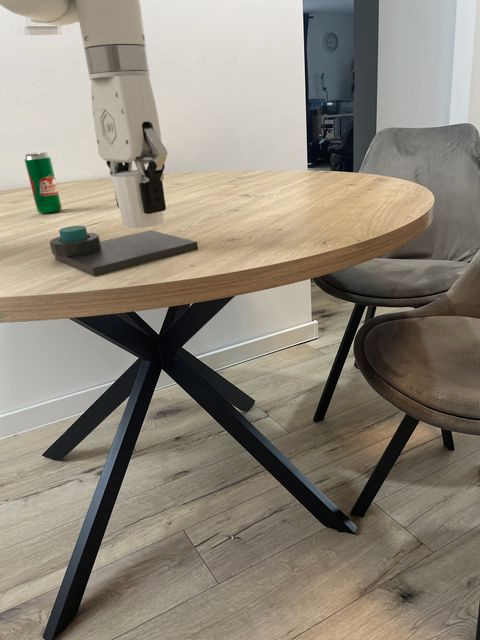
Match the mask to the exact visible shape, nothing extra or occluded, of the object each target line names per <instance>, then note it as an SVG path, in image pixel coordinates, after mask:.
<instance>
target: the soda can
mask: <svg viewBox="0 0 480 640" xmlns="http://www.w3.org/2000/svg"><path fill="white" fill-rule="evenodd" d="M24 155H25V157H24V164H25V168H26V172H27V175H28V180H29V183H30V187H31V191H32V196H33V199H34V204H35V207H36V211H37V212H38V213H39V214H41V215H50V214H56V213H60V212H61V210H62V208H63V206H62V202H61V198H60V194H59V189H58V185H57V180H56V175H55V171H54V167H53V162H52V158H51V156H49V154H48V152H46V151H41V152H39V151H38V152H28V153H25V154H24Z"/></svg>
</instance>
